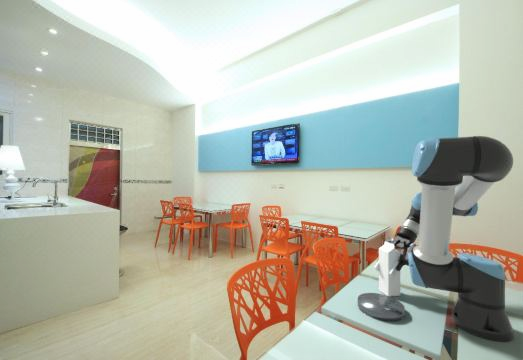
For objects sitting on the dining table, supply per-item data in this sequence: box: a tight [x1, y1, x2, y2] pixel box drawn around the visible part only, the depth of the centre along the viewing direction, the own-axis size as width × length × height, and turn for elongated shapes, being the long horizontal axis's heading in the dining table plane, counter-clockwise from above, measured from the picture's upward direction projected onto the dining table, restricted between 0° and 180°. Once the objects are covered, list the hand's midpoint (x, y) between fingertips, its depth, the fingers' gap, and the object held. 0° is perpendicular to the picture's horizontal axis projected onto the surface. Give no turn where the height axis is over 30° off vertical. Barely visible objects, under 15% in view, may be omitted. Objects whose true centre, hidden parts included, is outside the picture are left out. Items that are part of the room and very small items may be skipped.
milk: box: [378, 240, 401, 297], centre depth 103 cm, size 6×6×22 cm
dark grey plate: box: [357, 292, 406, 322], centre depth 90 cm, size 16×16×2 cm
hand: (383, 272), depth 102 cm, fingers closed on milk, 7 cm apart
